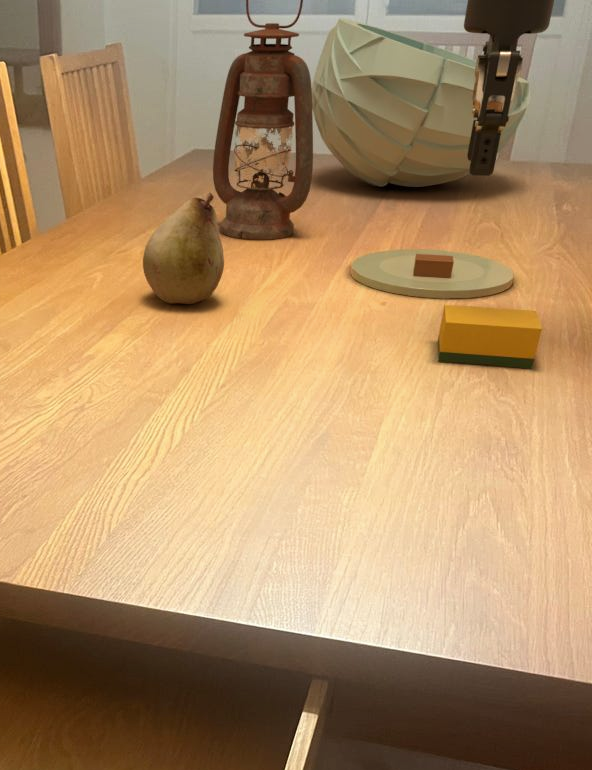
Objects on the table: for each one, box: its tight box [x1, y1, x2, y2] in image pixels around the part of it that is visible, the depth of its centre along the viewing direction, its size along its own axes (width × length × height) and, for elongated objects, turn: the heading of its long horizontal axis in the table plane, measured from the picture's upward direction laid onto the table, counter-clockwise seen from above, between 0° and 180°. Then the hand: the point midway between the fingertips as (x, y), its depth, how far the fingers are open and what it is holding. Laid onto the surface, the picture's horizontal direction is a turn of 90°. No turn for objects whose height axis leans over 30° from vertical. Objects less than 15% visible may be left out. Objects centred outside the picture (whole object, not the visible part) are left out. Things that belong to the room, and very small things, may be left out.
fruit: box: [142, 192, 225, 305], centre depth 112 cm, size 10×9×12 cm
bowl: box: [311, 17, 531, 188], centre depth 167 cm, size 35×35×22 cm
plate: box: [350, 248, 515, 300], centre depth 123 cm, size 20×20×1 cm
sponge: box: [436, 304, 543, 370], centre depth 97 cm, size 9×6×4 cm, turn 75°
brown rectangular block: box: [413, 254, 454, 278], centre depth 120 cm, size 4×3×2 cm, turn 75°
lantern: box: [212, 0, 314, 241], centre depth 134 cm, size 11×16×35 cm
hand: (478, 167), depth 96 cm, fingers open, 8 cm apart
